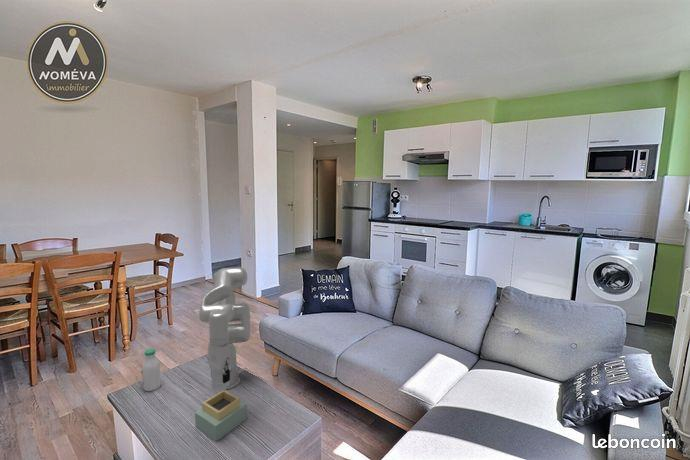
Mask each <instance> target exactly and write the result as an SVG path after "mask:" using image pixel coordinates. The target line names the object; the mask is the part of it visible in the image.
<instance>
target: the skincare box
mask: <svg viewBox="0 0 690 460" xmlns="http://www.w3.org/2000/svg"><path fill="white" fill-rule="evenodd" d="M225 366H226V365H225ZM226 370H227V367H226V368H225V371H226ZM223 374H224V373H223V370H220V369H218V368H216V367H214V366H213V364H212V363H211V368H210V376H212V377H211V390H212V391H220V392H221V391H227V390H228V389H227V388H228V386H229V381H228V382H226V383H223Z"/></svg>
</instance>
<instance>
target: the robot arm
mask: <svg viewBox="0 0 690 460" xmlns="http://www.w3.org/2000/svg"><path fill="white" fill-rule="evenodd" d="M247 282H248V272H247V271H246V269H245V268H244V267H223V268H220V269H218V270H217V271H216V272H215V273H214V274H213V284H214V287H213V289H211V290H210V291H208V292H207V293H206V294H205V295H204V297H203V298H202V299H201V303H200V308H199V311H198V312H199V314H198V316H199V317H198V318H199V321H200V322H201V323H205V324H207V323H208V327H209V328H208V329H209V331H208V333H209V342H208V348H207V356H206V358H207V363H208V365H209V367H210V369H211V363H212V364H213V366H214V367H216V368H218V369H220V370H223V373H224V374H223V383H226V382H228V381H229V386H228V388H227V389H226V390H230V389H233V388H235V387H236V386H238V385H239V383H241V377H240V374H242V373H243V372H245V368H244V367H243V368H238V367H237V365H238V364H237V363H238V362H237V348H236V346H235V345H234V344H241V343H247V342H248V341H249V340H250V338H251V311H250V310H251V309H250V307H249V304H248V303H246V302H245V303H244V302H239V303H238V302H237V303H236V293H235V292H234V289H233V288H234V287H236V286H245V285H246V284H247ZM236 322H237V323H236ZM238 322H240V323H238ZM229 323H230V324H229ZM232 323H233V324H232ZM225 365H226V366H225ZM226 367H227V370H226V371H225V368H226ZM210 376H211V375H210ZM211 378H212V376H211Z"/></svg>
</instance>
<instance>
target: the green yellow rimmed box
mask: <svg viewBox="0 0 690 460" xmlns="http://www.w3.org/2000/svg"><path fill="white" fill-rule="evenodd" d="M201 405H202V407H200V409H198V410H196V411H195V412H194V419H195V420H194V421H195V428H196V429H197V430H198V431H201V432H202V433H203V434H205V435H206V436H208V437H209V438H210V439H212V440H214V441H215V442H218V441H219V440H220V439H222V438H223V437H224V436H225V435H227V434H229V433H230V432H231V431H232V430H234V429H235V428H237V426H239V425H240V424H242V423H243V422H245V421H246V420H247V419H248V403H246V402H244V401H242V400H241V398H240V397H238V396H236V395H234V394H232V393H230V392H229V391H227V390H225V391H221V390H220V392H218V393H216V394H215V395H213V396H211V397H210V398H208V399H206V400H205V401H203V402H201Z"/></svg>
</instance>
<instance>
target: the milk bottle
mask: <svg viewBox="0 0 690 460" xmlns="http://www.w3.org/2000/svg"><path fill="white" fill-rule="evenodd" d="M144 357H145V358H144V361H143V363H142V367H141V368H142V369H141V372H142V373H141V375H142V388H143V391H145V392H153V391H155V390H156V391H157V389H159V388H160V387H161V384H162V381H161V380H162V379H161V378H162V377H161V365H160V361H159V360H158V358H157V356H156V348H148V349H146V350H144Z"/></svg>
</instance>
